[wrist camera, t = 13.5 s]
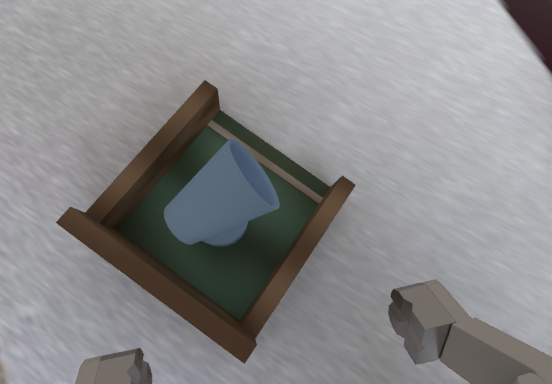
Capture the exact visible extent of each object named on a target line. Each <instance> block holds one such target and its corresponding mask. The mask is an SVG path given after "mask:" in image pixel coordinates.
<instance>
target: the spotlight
mask: <svg viewBox="0 0 552 384" xmlns="http://www.w3.org/2000/svg"><path fill="white" fill-rule="evenodd" d="M279 206H280V204H279V199H278V196H277V193H276V191H275V189H274V187H273V185H272V183H271V181H270V179H269V178H268V176H267V175H266V173H265V171H264V170H263V168H262V167H261V166H260V164H259V163H258V162H257V160H256V159H255V158H254V156H253V155H252V154H251V153H250V152H249V151H248V150H247V149H246V148H245V147H244V146H243V145H242V144H241V143H240V142H238V141H237V140H235V139H233V138H230V139H229V140H228V141H227V142H226V143H225V144H224V145H223V146H222V147H221V149H220V150H219V151H218V152H217V153H216V154H215V155H214V156H213V157H212V158H211V159H210V160H209V161H208V162H207V164H206V165H205V166H204V167H203V168H202V169H201V170H200V171H199V172H198V173H197V174H196V175H195V176H194V177H193V178H192V180H191V181H190V182H189V183H188V184H187V185H186V186H185V187H184V188H183V189H182V190H181V191H180V192H179V193H178V195H177V196H176V197H175V198H174V199H173V200H172V201H171V202H170V203H169V204H168V205H167V206H166V207H165V209H164V218H165V221H166V224H167V226H168V228H169V229H170V231H171V232H172V233H173V235H174V236H175V237H176V238H177V239H179V240H180V241H181V242H183V243H185V244H189V245H191V244H194V243H197V242H199V241H202V242H203V243H205V244H207V245H209V246H213V247H226V246H229V245H232V244H234V243H236V242H237V241H238V240H239V239H240V238H241V237H242V236H243V234H244V233H245V231H246V229H247V225H248V221H250V220H252V219H255V218H257V217H259V216H262V215H264V214H267V213H269V212H271V211H274V210H276V209H278V208H279Z"/></svg>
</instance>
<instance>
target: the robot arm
mask: <svg viewBox="0 0 552 384" xmlns="http://www.w3.org/2000/svg"><path fill="white" fill-rule="evenodd" d="M391 298H392V299H393V302H392V303H391V304H390V305H389V311H388V313H389V318H390V322H391V324H392V327H393V328H394V330H395V332H396V334H398V335H399V336H401V337H403V338H404V347H405V349H406V350H407V352H408V354H409V355H410V357H411V359H412V360H413V362H414V364H415V365H417V364H421V363H425V362H430V361H434V360H438V359H440V361H441V362H442V363H444V364H445V365H446V366H448V367H449V368H450V369H452V370H453V371H454V372H456V373H457V374H458V375H460V376H461V377H462V378H464V379H465V380H466V381H468V382H469V383H470V384H552V357H551V356H549V355H547V354H545V353H543V352H541V351H539V350H537V349H535V348H533V347H531V346H530V345H528V344H526V343H524V342H522V341H520V340H518V339H516V338H514V337H512V336H510V335H508V334H506V333H504V332H502V331H500V330H498V329H496V328H494V327H493V326H491V325H489V324H487V323H485V322H483V321H481V320H479V319H477V318H473V319H471V317H470V316H469V315H468V314H467V313H466V312H465V311H464V309H463V308H462V307H461V306H460V305H459V304H458V302H457V301H456V300H455V299H454V298H453V297H452V295H451V294H450V293H449V292H448V291H447V290H446V289H445V287H444V286H443V285H442V284H441V283H440V282H439V281H437V280H431V281H427V282H423V283H416V284H412V285H408V286H404V287H400V288H396V289H394V290H393V291H392V293H391ZM143 356H144V354H143V352H142V350H141V348H137V349H133V350H128V351H123V352H119V353H114V354H109V355H104V356H99V357H95V358H91V359H86V360H84V362H83V364H82V365H81V367H80V370H79V373H78V377H77V380H76V383H75V384H152V373H151V369H150V366H149V364H148V363H147V362H145V361H143Z"/></svg>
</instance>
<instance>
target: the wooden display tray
mask: <svg viewBox="0 0 552 384" xmlns="http://www.w3.org/2000/svg"><path fill="white" fill-rule="evenodd" d="M230 138H233V139H235V140H237V141H238V142H240V143H241V144H242V145H243V146H244V147H245V148H246V149H247V150H248V151H249V152H250V153H251V154H252V155H253V156H254V158H255V159H256V160H257V162H258V163H259V164H260V166H261V167H262V168H263V170H264V171H265V173H266V175H267V176H268V178H269V179H270V181H271V183H272V185H273V187H274V189H275V191H276V193H277V196H278V199H279V204H280V206H279V208H278V209H276V210H274V211H271V212H269V213H267V214H264V215H262V216H259V217H257V218H255V219H252V220H250V221H248V225H247V229H246V231H245V233H244V234H243V236H242V237H241V238H240V239H239V240H238V241H237V242H236V243H234V244H232V245H229V246H226V247H213V246H209V245H207V244H205V243H203V242H202V241H199V242H197V243H194V244H191V245H189V244H185V243H183V242H181V241H180V240H179V239H177V238H176V237H175V236H174V235H173V233H172V232H171V231H170V229H169V228H168V226H167V224H166V221H165V218H164V209H165V207H166V206H167V205H168V204H169V203H170V202H171V201H172V200H173V199H174V198H175V197H176V196H177V195H178V193H179V192H180V191H181V190H182V189H183V188H184V187H185V186H186V185H187V184H188V183H189V182H190V181H191V180H192V178H193V177H194V176H195V175H196V174H197V173H198V172H199V171H200V170H201V169H202V168H203V167H204V166H205V165H206V164H207V162H208V161H209V160H210V159H211V158H212V157H213V156H214V155H215V154H216V153H217V152H218V151H219V150H220V149H221V147H222V146H223V145H224V144H225V143H226V142H227V141H228V140H229V139H230ZM354 187H355V184H354V183H352V182H351V181H349V180H348V179H347V178H345V177H344V176H342V177H341V178H340V179H338V180H337V181H336V182H335V183H334V184H333V185H332V186H331V187H329V186H328V185H326V184H325V183H324V182H322V181H321V180H319V179H318V178H316V177H315V176H314V175H312V174H311V173H309V172H308V171H306V170H305V169H304V168H302V167H301V166H299V165H298V164H296V163H295V162H294V161H292V160H291V159H289V158H288V157H286V156H285V155H284V154H282V153H281V152H279V151H278V150H276V149H275V148H274V147H272V146H271V145H269V144H268V143H266V142H265V141H264V140H262V139H261V138H259V137H258V136H256V135H255V134H254V133H252V132H251V131H249V130H248V129H246V128H245V127H244V126H242V125H241V124H239V123H238V122H236V121H235V120H234V119H232V118H231V117H229V116H228V115H226V114H225V113H224V112H222V111H221V110H220V105H219V97H218V89H217V88H216V87H214V86H213V85H211V84H210V83H208V82H207V81H206V80H205V81H204V82H203V83H202V84H201V85H200V86H199V87H198V88H197V89H196V91H195V92H194V93H193V94H192V95H191V96H190V97H189V98H188V99H187V101H186V102H185V103H184V104H183V105H182V106H181V107H180V108H179V109H178V111H177V112H176V113H175V114H174V115H173V116H172V117H171V118H170V119H169V120H168V122H167V123H166V124H165V125H164V126H163V127H162V128H161V129H160V130H159V132H158V133H157V134H156V135H155V136H154V137H153V138H152V139H151V140H150V142H149V143H148V144H147V145H146V146H145V147H144V148H143V149H142V150H141V152H140V153H139V154H138V155H137V156H136V157H135V158H134V159H133V160H132V161H131V163H130V164H129V165H128V166H127V167H126V168H125V169H124V170H123V171H122V173H121V174H120V175H119V176H118V177H117V178H116V179H115V180H114V181H113V183H112V184H111V185H110V186H109V187H108V188H107V189H106V190H105V191H104V192H103V194H102V195H101V196H100V197H99V198H98V199H97V200H96V201H95V202H94V204H93V205H92V206H91V207H90V208H89V209H88V210H87V211H86V212H82V211H80V210H77V209H75V208H72V207H70V208H69V209H68V210H67V211H66V212H65V213H64V214H63V215H62V216H61V217H60V219H59V220H58V221H57V222H56V223H57V224H58V225H60V226H61V227H62V228H64V229H65V230H66V231H68V232H69V233H70V234H72V235H73V236H74V237H76V238H77V239H78V240H80V241H81V242H82V243H84V244H85V245H86V246H88V247H89V248H90V249H92V250H93V251H94V252H96V253H97V254H98V255H100V256H101V257H102V258H104V259H105V260H106V261H108V262H109V263H110V264H112V265H113V266H114V267H116V268H117V269H118V270H120V271H121V272H122V273H124V274H125V275H126V276H128V277H129V278H130V279H132V280H133V281H134V282H136V283H137V284H138V285H140V286H141V287H142V288H144V289H145V290H146V291H148V292H149V293H150V294H152V295H153V296H154V297H156V298H157V299H159V300H160V301H161V302H163V303H164V304H165V305H167V306H168V307H169V308H171V309H172V310H173V311H175V312H176V313H177V314H179V315H180V316H181V317H183V318H184V319H185V320H187V321H188V322H189V323H191V324H192V325H193V326H195V327H196V328H197V329H199V330H200V331H201V332H203V333H204V334H205V335H207V336H208V337H209V338H211V339H212V340H213V341H215V342H216V343H217V344H219V345H220V346H221V347H223V348H224V349H225V350H227V351H228V352H229V353H231V354H232V355H233V356H235V357H236V358H237V359H239V360H240V361H241V362H243V363H244V364H245V362H246V361H247V359H248V358H249V356H250V355H251V353H252V352H253V350H254V348H255V347H256V345H257V344H256V340H255V338H256V337H257V335H258V333H259V332H260V330H261V329H262V327H263V326H264V324H265V323H266V321H267V320H268V318H269V317H270V315H271V314H272V312H273V311H274V309H275V308H276V306H277V304H278V303H279V301H280V300H281V298H282V297H283V295H284V294H285V292H286V291H287V289H288V288H289V286H290V285H291V283H292V282H293V280H294V279H295V277H296V275H297V274H298V272H299V271H300V269H301V268H302V266H303V265H304V263H305V262H306V260H307V259H308V257H309V256H310V254H311V253H312V251H313V249H314V248H315V246H316V245H317V243H318V242H319V240H320V239H321V237H322V236H323V234H324V233H325V231H326V230H327V228H328V227H329V225H330V224H331V222H332V220H333V219H334V217H335V216H336V214H337V213H338V211H339V210H340V208H341V207H342V205H343V204H344V202H345V201H346V199H347V198H348V196H349V194H350V193H351V191H352V190H353V188H354Z"/></svg>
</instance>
